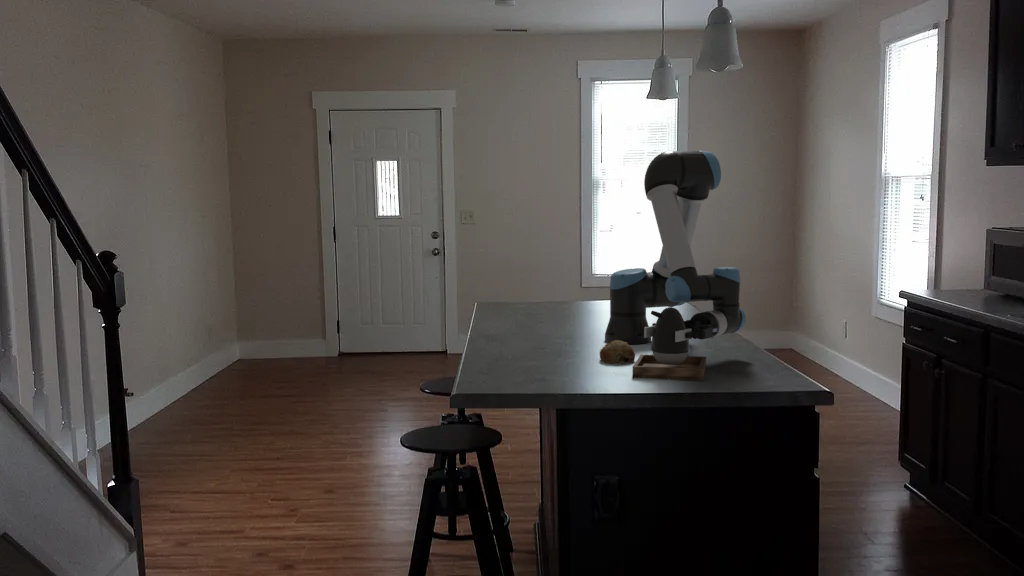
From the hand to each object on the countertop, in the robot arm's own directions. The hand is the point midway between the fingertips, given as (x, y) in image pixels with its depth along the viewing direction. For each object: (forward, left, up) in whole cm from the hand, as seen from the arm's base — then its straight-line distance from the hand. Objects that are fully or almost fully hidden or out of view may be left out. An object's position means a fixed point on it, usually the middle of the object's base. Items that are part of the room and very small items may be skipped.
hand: (660, 334), depth 235 cm
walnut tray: (+2, +4, -11) cm, 12 cm away
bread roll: (-14, +17, -11) cm, 25 cm away
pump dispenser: (+2, +4, -8) cm, 10 cm away
